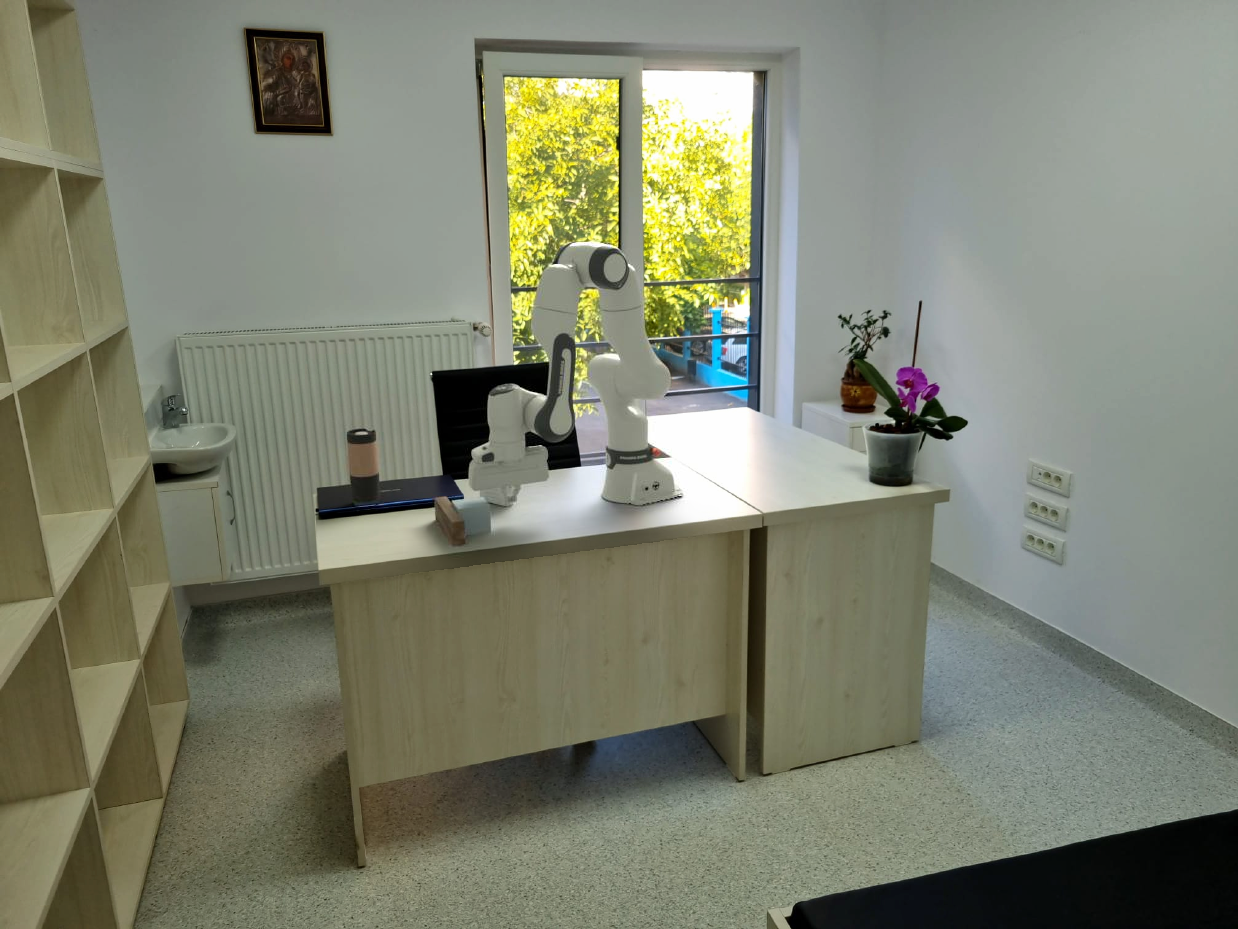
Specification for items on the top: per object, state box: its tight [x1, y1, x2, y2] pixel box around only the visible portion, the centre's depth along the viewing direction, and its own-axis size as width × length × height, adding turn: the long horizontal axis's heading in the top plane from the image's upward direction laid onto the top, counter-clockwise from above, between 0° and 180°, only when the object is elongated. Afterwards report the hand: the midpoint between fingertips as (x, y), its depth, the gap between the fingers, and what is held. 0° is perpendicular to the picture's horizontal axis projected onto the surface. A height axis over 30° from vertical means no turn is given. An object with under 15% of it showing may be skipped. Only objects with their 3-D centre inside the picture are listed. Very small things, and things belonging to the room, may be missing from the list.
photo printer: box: [479, 486, 515, 507], centre depth 254 cm, size 10×4×12 cm, turn 56°
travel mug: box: [346, 428, 381, 502], centre depth 251 cm, size 8×8×20 cm
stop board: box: [433, 496, 467, 547], centre depth 232 cm, size 3×20×6 cm, turn 23°
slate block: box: [451, 496, 492, 536], centre depth 234 cm, size 8×7×7 cm
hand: (510, 501), depth 239 cm, fingers closed
